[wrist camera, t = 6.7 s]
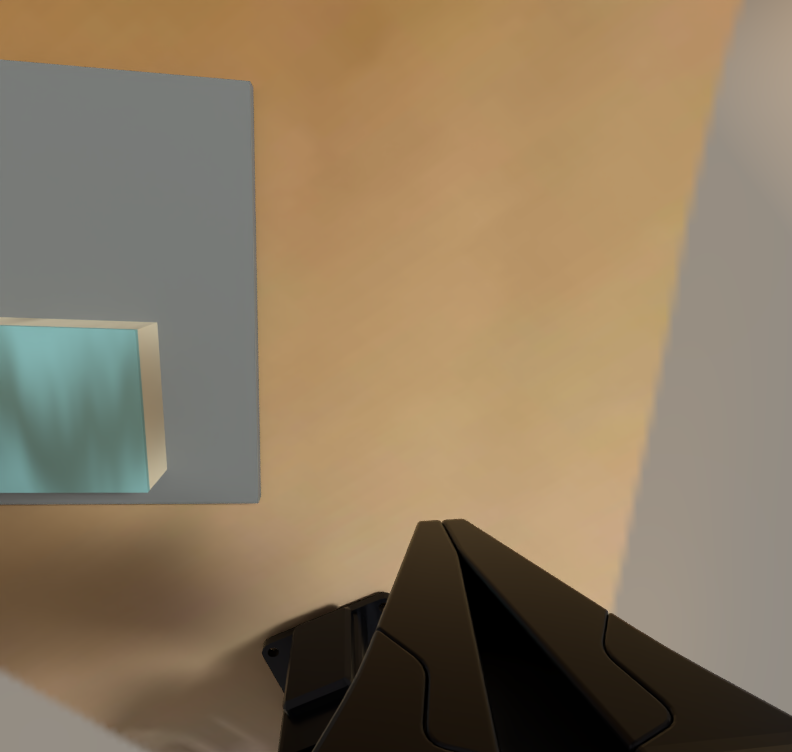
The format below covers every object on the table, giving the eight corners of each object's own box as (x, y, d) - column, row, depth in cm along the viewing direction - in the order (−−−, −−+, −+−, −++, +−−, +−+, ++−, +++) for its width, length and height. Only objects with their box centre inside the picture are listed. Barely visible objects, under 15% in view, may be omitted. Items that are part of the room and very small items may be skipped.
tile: (147, 492, 18) (-93, 493, 17) (167, 469, 20) (-48, 468, 19) (135, 330, 16) (-128, 321, 16) (157, 322, 18) (-76, 314, 17)
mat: (260, 496, 21) (258, 503, 20) (-41, 497, 20) (-53, 504, 19) (253, 86, 17) (249, 81, 17) (-120, 55, 16) (-138, 47, 15)
